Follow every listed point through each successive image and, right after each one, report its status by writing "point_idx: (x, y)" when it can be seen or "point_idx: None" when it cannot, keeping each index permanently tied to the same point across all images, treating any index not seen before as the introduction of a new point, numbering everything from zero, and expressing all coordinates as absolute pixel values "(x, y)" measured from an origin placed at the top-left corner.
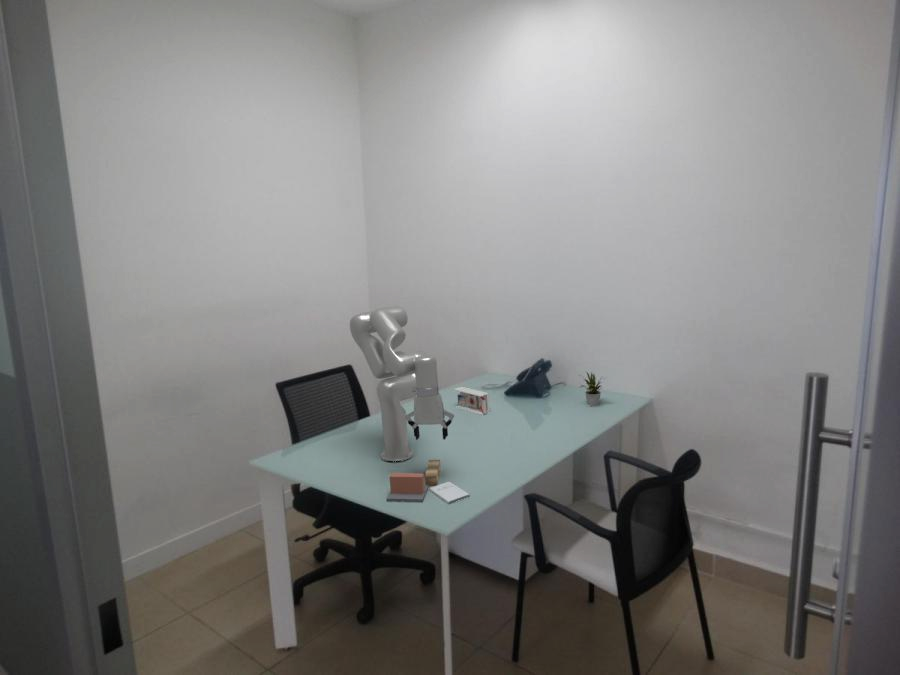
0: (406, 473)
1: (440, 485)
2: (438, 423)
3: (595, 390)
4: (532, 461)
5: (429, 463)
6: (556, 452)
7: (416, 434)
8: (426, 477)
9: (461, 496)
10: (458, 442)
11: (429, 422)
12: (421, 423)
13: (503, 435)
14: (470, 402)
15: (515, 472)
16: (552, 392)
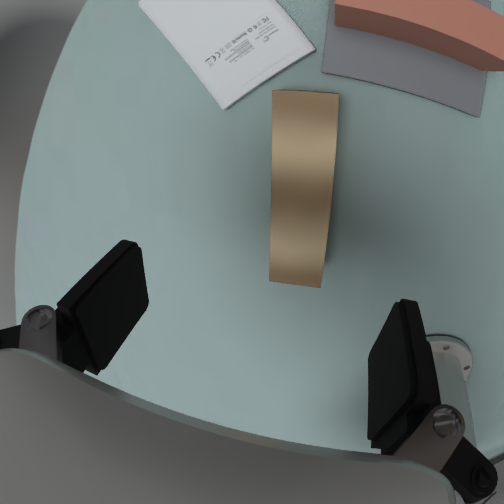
0: (447, 31)
1: (261, 69)
2: (25, 354)
3: None
4: (38, 252)
5: (318, 250)
6: (22, 283)
7: (416, 339)
8: (330, 93)
9: None
10: (232, 400)
11: (149, 443)
12: (342, 469)
13: (135, 390)
14: None
15: (48, 193)
16: None
